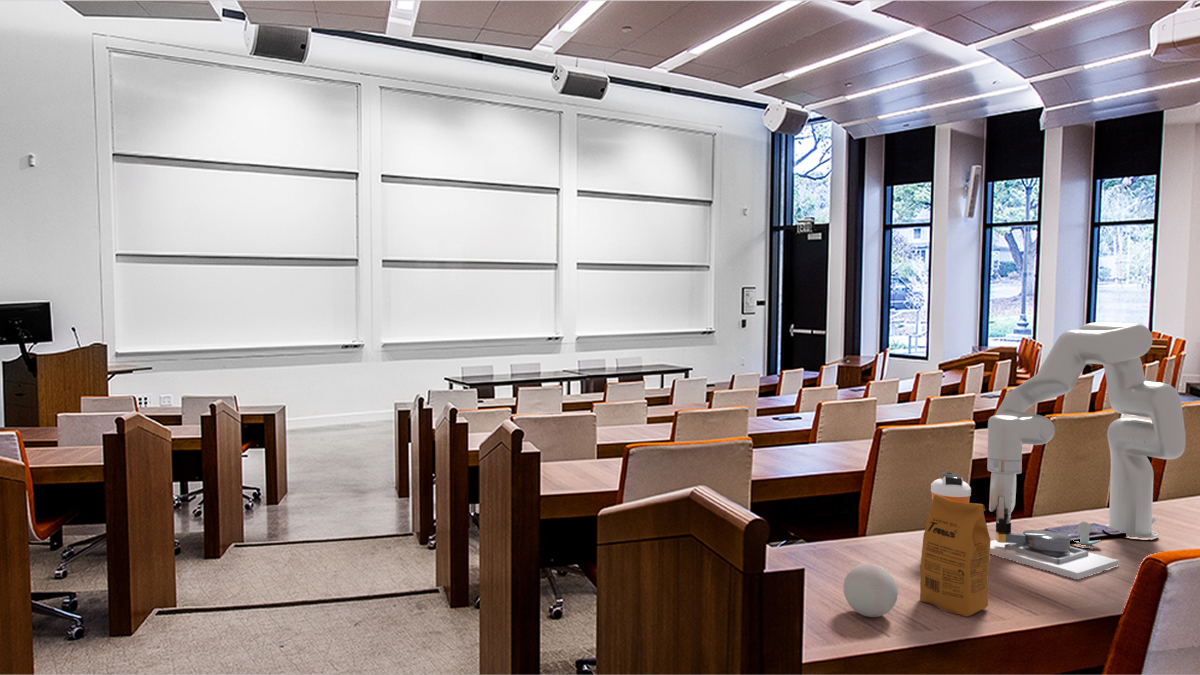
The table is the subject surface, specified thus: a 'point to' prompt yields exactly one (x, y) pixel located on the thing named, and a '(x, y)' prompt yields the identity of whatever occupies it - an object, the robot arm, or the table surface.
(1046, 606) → the table surface
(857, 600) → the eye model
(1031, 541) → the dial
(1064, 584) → the table surface
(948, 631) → the table surface
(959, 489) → the shaker bottle
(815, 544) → the table surface
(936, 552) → the coffee package
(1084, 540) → the pacifier
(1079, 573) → the panel
